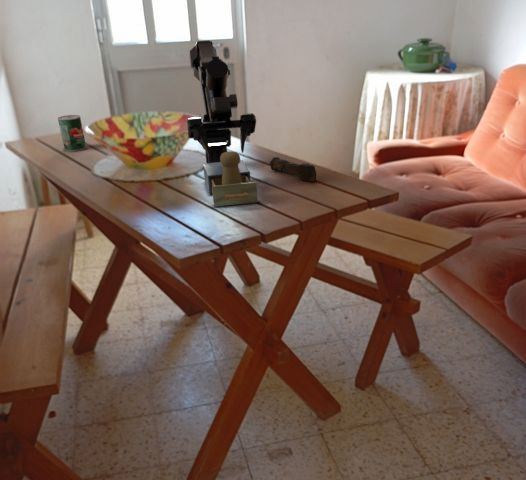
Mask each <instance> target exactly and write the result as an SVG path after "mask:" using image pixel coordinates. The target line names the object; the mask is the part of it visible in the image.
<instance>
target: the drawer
mask: <svg viewBox="0 0 526 480" xmlns="http://www.w3.org/2000/svg"><path fill="white" fill-rule="evenodd" d="M240 176H241V182H242V183H236V184H226V185H222V177H212V178H211V188H212V192H213V195H212V202H213V204H212V205H213V207H224V206H225V207H226V206H234V205H243V204H254V203H258V183H257V181H251V180H250V181H249V179H248V178H247V176H246V174H244V175H240Z"/></svg>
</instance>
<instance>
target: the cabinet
mask: <svg viewBox="0 0 526 480" xmlns="http://www.w3.org/2000/svg"><path fill="white" fill-rule="evenodd" d="M202 166H203V167H202V168H203V177H204V183H205V184H204V185H205V187H206V189H207V192H208V195H209V196H211V197H212V196H213V192H212V188H211V178H212V177H222V173H223V165H222V164H221V162H217V163H206V162H205V163H203V164H202ZM238 166H239V171H240V175H244V174H246V176H247V178H248V179H249V181H250V182H251V170H249V168H248V167H247V165H246V163H245V162H244V160H243V159H240V163H239V165H238Z"/></svg>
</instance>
